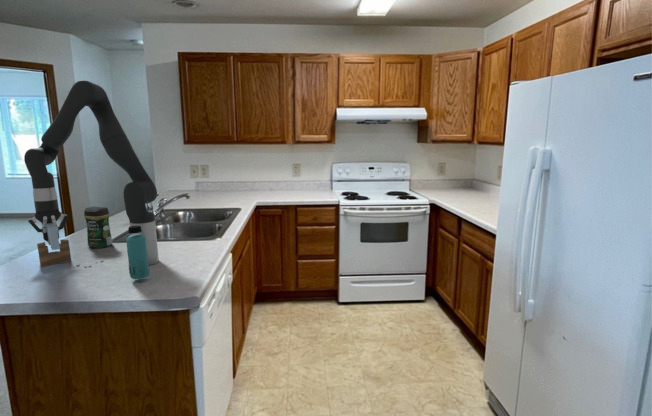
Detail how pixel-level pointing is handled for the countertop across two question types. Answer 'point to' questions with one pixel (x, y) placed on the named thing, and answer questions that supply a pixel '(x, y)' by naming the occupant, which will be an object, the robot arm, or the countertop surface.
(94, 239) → the coffee jar
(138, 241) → the beverage bottle
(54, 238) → the pale grey upright slab
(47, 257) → the notched wooden block
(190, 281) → the countertop surface
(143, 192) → the robot arm
